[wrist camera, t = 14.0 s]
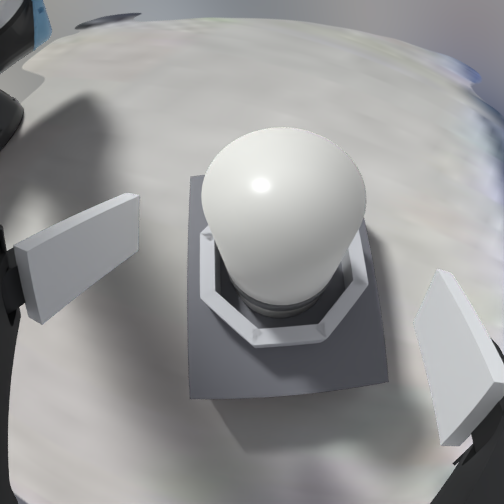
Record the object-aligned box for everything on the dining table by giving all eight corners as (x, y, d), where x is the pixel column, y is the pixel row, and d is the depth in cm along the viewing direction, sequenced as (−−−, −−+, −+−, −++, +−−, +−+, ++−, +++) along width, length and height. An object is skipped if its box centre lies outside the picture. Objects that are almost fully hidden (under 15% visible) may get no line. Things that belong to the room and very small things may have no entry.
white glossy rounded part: (229, 230, 25) (202, 133, 15) (321, 223, 25) (347, 124, 14) (233, 322, 22) (199, 275, 12) (333, 313, 22) (383, 260, 12)
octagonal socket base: (203, 209, 33) (183, 159, 25) (339, 199, 32) (356, 147, 24) (206, 393, 26) (180, 401, 18) (365, 380, 25) (401, 382, 18)
